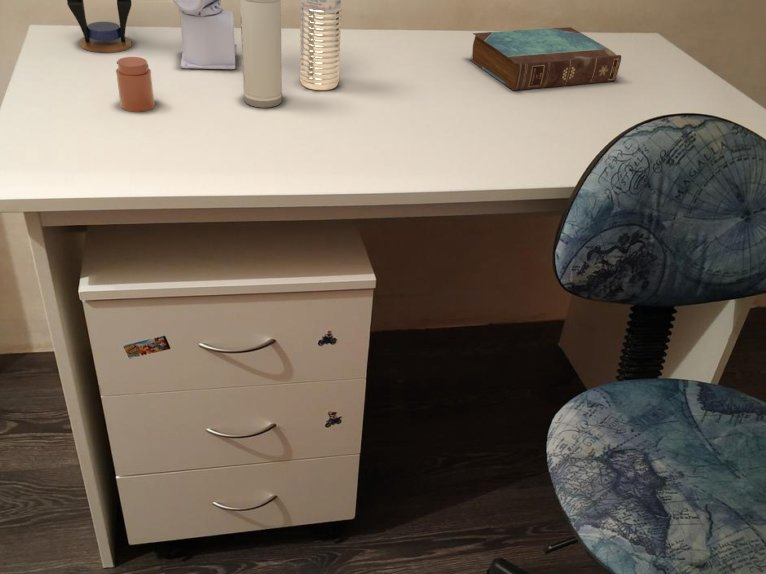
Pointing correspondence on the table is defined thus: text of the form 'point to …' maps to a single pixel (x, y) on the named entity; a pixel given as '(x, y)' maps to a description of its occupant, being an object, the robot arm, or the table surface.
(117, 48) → the coaster
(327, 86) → the water bottle
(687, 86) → the table surface
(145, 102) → the jar
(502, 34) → the book
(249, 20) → the travel mug
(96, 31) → the lid
